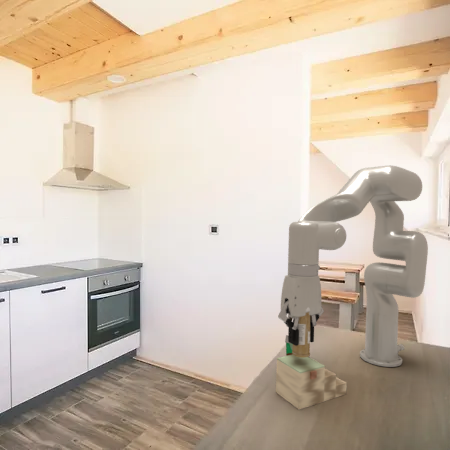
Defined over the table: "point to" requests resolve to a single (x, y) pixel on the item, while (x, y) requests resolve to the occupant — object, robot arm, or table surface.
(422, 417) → the table surface
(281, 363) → the step stand
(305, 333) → the spice jar
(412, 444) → the table surface
